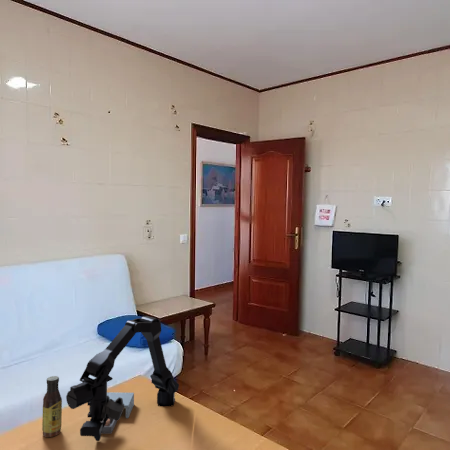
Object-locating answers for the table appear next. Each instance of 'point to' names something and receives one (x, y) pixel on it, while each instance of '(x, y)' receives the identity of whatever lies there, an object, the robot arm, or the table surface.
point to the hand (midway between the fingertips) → (98, 440)
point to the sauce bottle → (52, 408)
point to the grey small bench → (127, 400)
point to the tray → (109, 427)
